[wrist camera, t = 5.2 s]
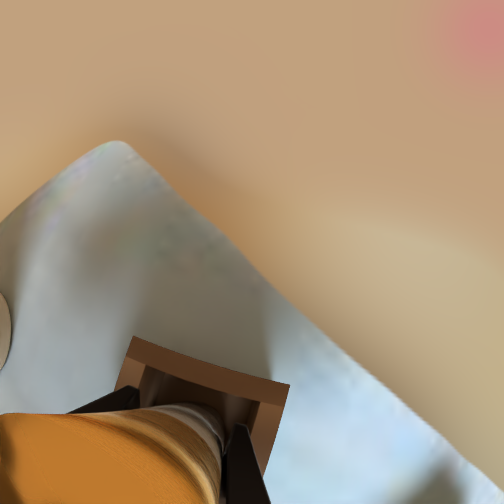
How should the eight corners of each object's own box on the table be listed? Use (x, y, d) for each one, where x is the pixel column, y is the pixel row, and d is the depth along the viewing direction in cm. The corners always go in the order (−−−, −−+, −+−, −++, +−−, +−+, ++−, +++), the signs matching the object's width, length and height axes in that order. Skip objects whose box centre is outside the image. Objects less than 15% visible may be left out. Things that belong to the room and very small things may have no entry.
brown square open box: (240, 489, 12) (246, 523, 7) (127, 451, 12) (92, 469, 8) (272, 386, 15) (290, 384, 11) (159, 352, 15) (133, 335, 11)
